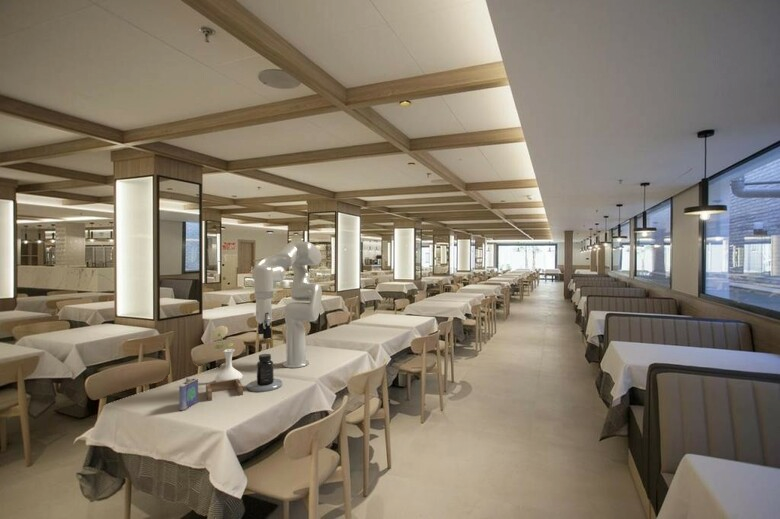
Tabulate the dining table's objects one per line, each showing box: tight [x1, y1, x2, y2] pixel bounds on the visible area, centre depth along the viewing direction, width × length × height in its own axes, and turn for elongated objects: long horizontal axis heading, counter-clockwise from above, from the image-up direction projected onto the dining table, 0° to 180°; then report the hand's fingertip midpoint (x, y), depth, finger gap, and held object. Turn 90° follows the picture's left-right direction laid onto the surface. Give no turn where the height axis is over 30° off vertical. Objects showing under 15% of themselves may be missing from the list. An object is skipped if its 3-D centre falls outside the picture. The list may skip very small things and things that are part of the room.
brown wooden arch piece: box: [205, 379, 244, 402], centre depth 155 cm, size 11×12×4 cm
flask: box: [178, 376, 199, 412], centre depth 142 cm, size 9×3×11 cm, turn 173°
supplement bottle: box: [256, 353, 275, 386], centre depth 164 cm, size 7×7×12 cm
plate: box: [246, 378, 283, 393], centre depth 164 cm, size 14×14×1 cm
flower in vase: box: [209, 325, 244, 382], centre depth 170 cm, size 13×11×25 cm
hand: (264, 336), depth 164 cm, fingers open, 9 cm apart
